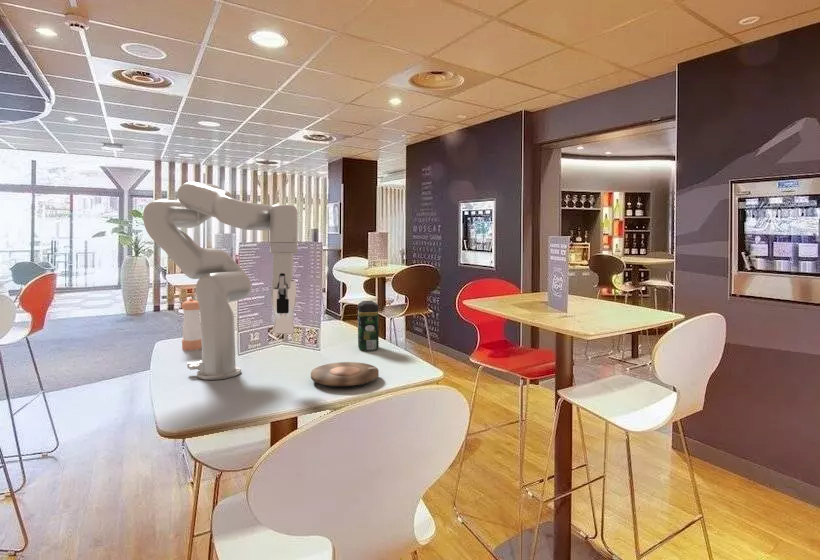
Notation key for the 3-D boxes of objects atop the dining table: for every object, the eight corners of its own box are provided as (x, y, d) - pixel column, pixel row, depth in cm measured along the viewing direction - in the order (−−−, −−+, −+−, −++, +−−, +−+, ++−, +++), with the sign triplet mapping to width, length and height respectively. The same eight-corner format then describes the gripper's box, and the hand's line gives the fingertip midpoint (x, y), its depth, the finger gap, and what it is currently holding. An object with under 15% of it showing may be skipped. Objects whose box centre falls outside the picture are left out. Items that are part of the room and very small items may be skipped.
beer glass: (289, 335, 126) (289, 282, 125) (266, 333, 128) (266, 280, 126) (300, 330, 133) (300, 279, 132) (278, 328, 135) (278, 278, 133)
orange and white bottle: (207, 347, 174) (205, 298, 172) (189, 351, 168) (187, 300, 166) (196, 345, 178) (194, 296, 176) (178, 348, 172) (176, 298, 170)
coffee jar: (357, 346, 178) (356, 299, 177) (377, 345, 180) (377, 299, 178) (358, 352, 169) (358, 303, 167) (379, 351, 170) (379, 302, 169)
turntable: (310, 387, 123) (310, 381, 123) (311, 367, 143) (311, 361, 142) (382, 383, 127) (382, 377, 127) (374, 364, 147) (374, 359, 146)
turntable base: (321, 389, 127) (321, 384, 127) (321, 374, 140) (321, 370, 140) (371, 386, 129) (371, 381, 129) (366, 372, 143) (366, 367, 143)
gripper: (272, 247, 136) (273, 306, 138) (266, 249, 119) (266, 316, 121) (298, 248, 137) (298, 306, 139) (295, 250, 120) (295, 316, 122)
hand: (283, 310), depth 130 cm, fingers closed on beer glass, 6 cm apart
